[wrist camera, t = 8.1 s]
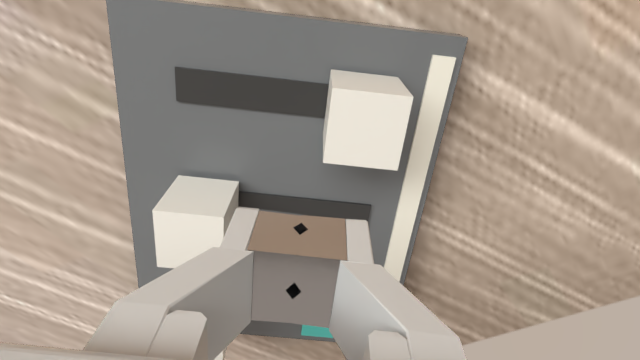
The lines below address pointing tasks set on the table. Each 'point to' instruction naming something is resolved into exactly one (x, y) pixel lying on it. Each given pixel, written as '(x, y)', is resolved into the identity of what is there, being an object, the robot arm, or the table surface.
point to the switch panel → (271, 118)
